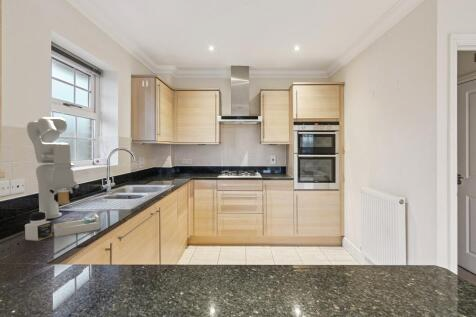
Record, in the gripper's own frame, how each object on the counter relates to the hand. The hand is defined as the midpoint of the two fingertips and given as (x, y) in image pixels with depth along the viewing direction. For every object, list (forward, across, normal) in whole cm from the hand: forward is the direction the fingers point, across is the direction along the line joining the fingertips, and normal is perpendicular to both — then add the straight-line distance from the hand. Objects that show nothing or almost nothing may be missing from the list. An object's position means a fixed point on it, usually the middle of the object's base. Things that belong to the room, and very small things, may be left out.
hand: (63, 200), depth 145 cm
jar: (+2, 0, 0) cm, 2 cm away
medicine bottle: (+13, +11, +16) cm, 23 cm away
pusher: (+12, -11, +13) cm, 20 cm away
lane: (+13, -5, +13) cm, 19 cm away
